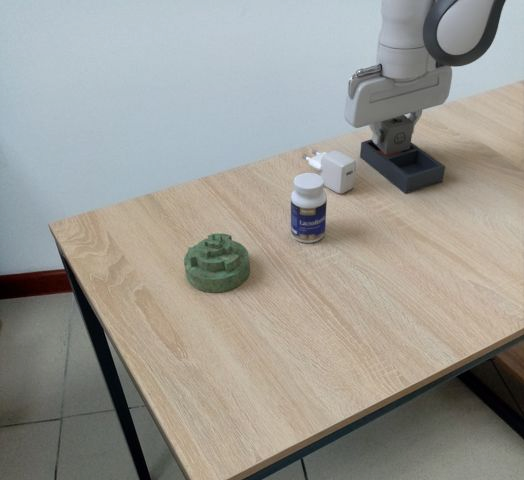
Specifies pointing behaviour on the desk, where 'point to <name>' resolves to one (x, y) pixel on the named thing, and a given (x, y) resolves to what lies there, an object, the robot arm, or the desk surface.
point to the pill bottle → (308, 208)
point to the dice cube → (396, 134)
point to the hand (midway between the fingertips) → (392, 137)
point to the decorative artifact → (217, 264)
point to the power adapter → (334, 169)
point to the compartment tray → (404, 166)
